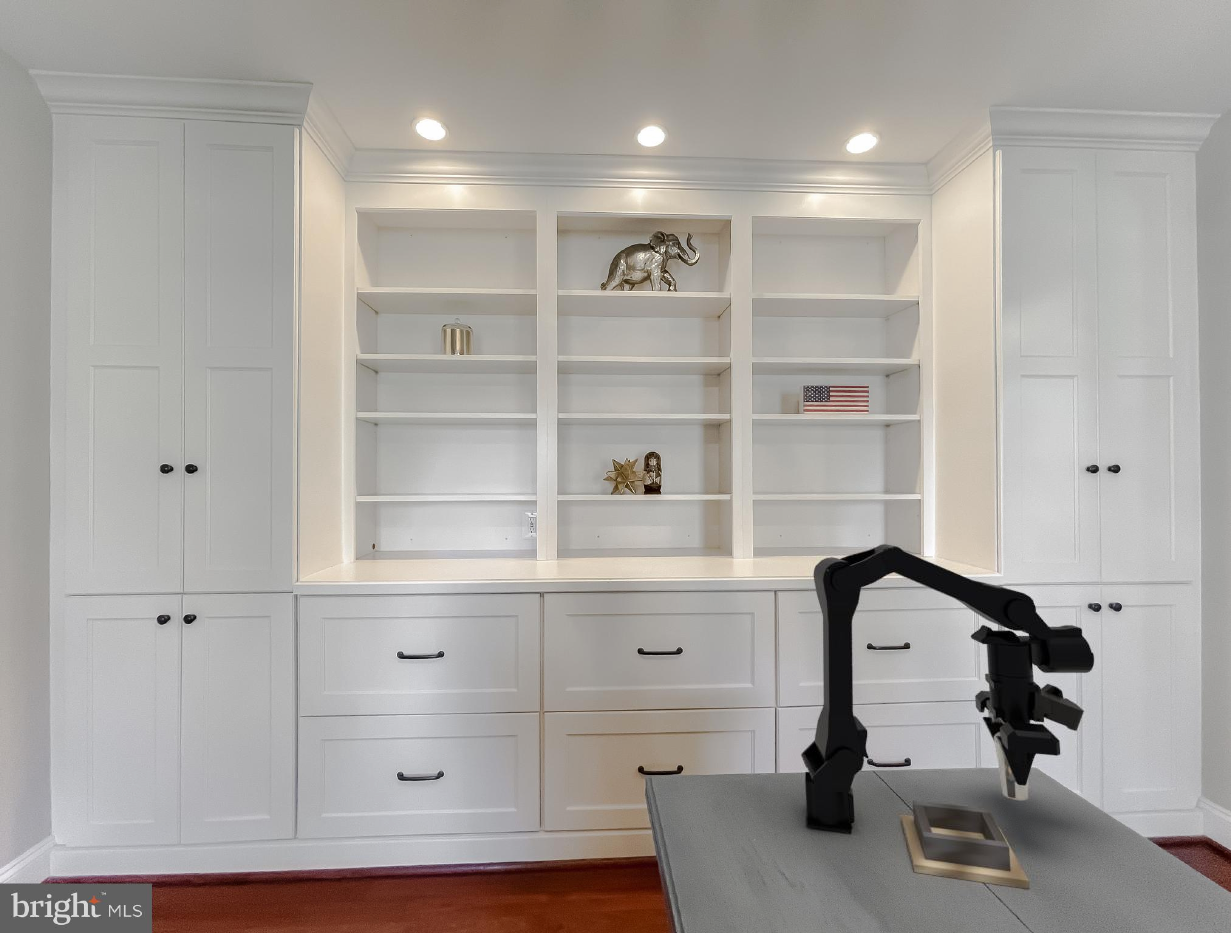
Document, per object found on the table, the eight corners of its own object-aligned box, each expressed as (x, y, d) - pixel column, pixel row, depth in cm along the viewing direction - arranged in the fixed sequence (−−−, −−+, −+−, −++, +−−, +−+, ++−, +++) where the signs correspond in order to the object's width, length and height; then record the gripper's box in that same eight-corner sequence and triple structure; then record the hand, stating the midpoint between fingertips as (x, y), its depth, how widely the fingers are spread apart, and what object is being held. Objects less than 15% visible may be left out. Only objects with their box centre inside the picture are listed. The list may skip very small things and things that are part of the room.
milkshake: (1045, 804, 88) (1041, 734, 88) (1004, 802, 89) (1000, 732, 89) (1030, 789, 92) (1026, 722, 93) (992, 787, 93) (988, 721, 94)
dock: (914, 872, 80) (912, 840, 80) (901, 821, 92) (899, 794, 92) (1029, 889, 76) (1027, 856, 76) (999, 833, 88) (997, 805, 88)
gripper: (1102, 696, 80) (1110, 817, 79) (1050, 659, 98) (1056, 758, 97) (1005, 690, 83) (1012, 806, 83) (972, 655, 101) (977, 751, 100)
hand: (1016, 778), depth 90 cm, fingers closed on milkshake, 4 cm apart
